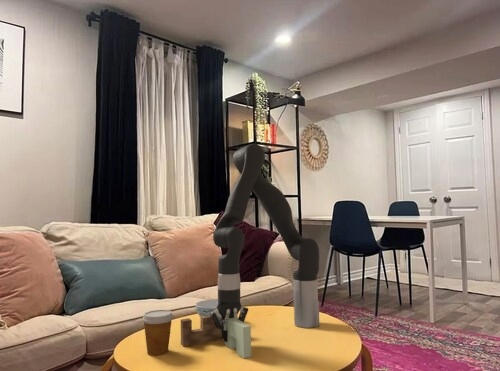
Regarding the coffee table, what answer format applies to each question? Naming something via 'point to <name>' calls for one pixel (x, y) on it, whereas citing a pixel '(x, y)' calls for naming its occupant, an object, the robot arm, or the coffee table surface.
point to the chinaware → (207, 307)
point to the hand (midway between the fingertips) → (229, 340)
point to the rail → (199, 331)
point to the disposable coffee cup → (157, 331)
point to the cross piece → (239, 337)
